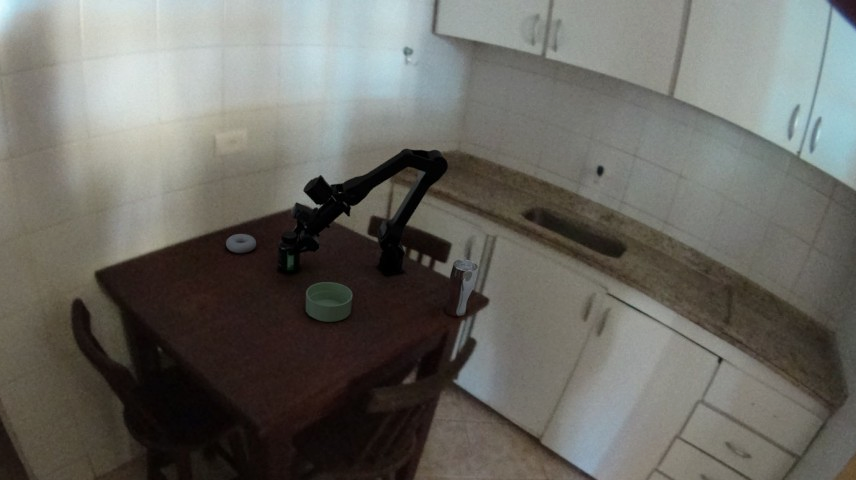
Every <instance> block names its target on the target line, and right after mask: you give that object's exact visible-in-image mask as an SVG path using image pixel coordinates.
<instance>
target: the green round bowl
mask: <svg viewBox="0 0 856 480" xmlns="http://www.w3.org/2000/svg"><path fill="white" fill-rule="evenodd" d="M353 296H354V294H353V292H352V290H351V289H350V288H349V287H348V286H346V285H345V284H341V283H339V282H334V281H333V282H332V281H322V282H317V283H314V284H311V285H310V286H309V287H308V288H307V289H306V291H305V300H304V302H305V303H304V304H305V305H304V309H305V312H306V313H307V315H308V316H309V317H312V318H313V319H315V320H317V321H321V322H324V323H325V322H326V323H327V322H328V323H334V322H339V321H343V320H344V319H346V318H348V317H349V316H350V315H351V313H352V310H353V309H352V307H353V299H354V298H353Z"/></svg>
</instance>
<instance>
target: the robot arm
mask: <svg viewBox="0 0 856 480" xmlns="http://www.w3.org/2000/svg"><path fill="white" fill-rule="evenodd" d="M407 168H412V169H415V170H417V171H418V174H417V176H416V179H415V180H414V182H413V184H412V185H411V188H409V190H408V192H407V194H406V196H405V197H404V198H403V200H402V202H401V204H400V205H399V207H398V208H397V210H396V211H395V213H394V215H393V217H392V218H391V219H389V220H388V221H387V220H386V219H383V221H382V222H381V225H380V226H379V227H378V228H377V230H376V231H377V235H376V237H377V241H378V243H379V247H380V249H381V250H382V251H381V255H380V257H379V262H378V265H376V267H377V269H379V270H380V271H381V272H382V273H383V274H384V275H385V276H387V277H388V276H394V275H399V274H404V273H405V270H404V268H403V261H404V257H405V255H406V252H405V249H404V246H403V244H402V242H401V241H402V239H403V236H404V232H405V228H406V226H407V224H408V222H409V221H410V220H411V217H413V215H414V213H415V211H416V210H417V208H418V207H419V205H420V204H421V202H422V201H423V199H424V197H425V196H426V194H427V192H428V191H429V189H430V188H431V187H432V186H434V185H435V184H436V183H437V182H439V181H440V180H441V178H443V176H444V175H445V174H446V172H447V171H448V169H449V164H448V160H447V159H446V157H445V156H444V154H443V153H442V152H441V151H440V150H438V149H431V150H425V149H411V148H403V149H402V150H400V152H398V153H397V154H395V155H394V156H392V157H390V158H389V159H387V160H386V161H384V162H383V163H381V164H380V165H378V166H376V167H375V168H372V170H370V171H368V172H366V173H365V174H363V175H358V176H354V177H352V178H350V179H346V180H345V181H344V182H342V183H333V184H329V183H328V181H327V180H326V179H325V177H324V176H323V175H321V174H320V175H319V176H316V177H314V178H311V179H310V180H309V181H308V182H307V183H306V184H305V186H304V187H303V190H302V191H303V193H304V194H305V195H306V196H307V197H308V198H309V199H310V200H311V201H312V202H313V203H314V204H315V205H316V207H313V209H311V208H310V207H308V206H306V205H304V204H302V203H300V202H297V201H296V202H295V203H294V205H293V207H292V209H291V211H290V212H291V214H290V215H291V217H292V219H295V220H296V224H295V226H294V228H293V229H292V230H291V231H292V232H296V233H297V238H298V240H297V243H296V244H295V245H294V246H293V247H292V248H291V249H290V251H289V252H288V254H289V255H290V256H291V255H295V254H299V253H300V254H304V253H308V252H311V253H312V252H313V253H316V252H317V251H318V250H319V249H320V239H319V237H320V236H321V232H323V231H324V230H325V229H326V228H327V229H330V228H331V227H332V226H331V224H332V223H333V222H334V221H335V220H337V219H338V218H339V217H340V216H341V215H343V214H345V216H346V217H348V218H349V217H351V210H352V207H355V206H357V205H358V204H360V203H361V202H362V201H363V200H364V199H366V197H367V196H368V195H369V194H370V193H371V191H372V190H373V189H375V188H377V187H378V186H379V185H381V184H383V183H385V182H386V181H388V180H389V179H391V178H392V177H394V176H396V175H397V174H399V173H400V172H402V171H404V170H406V169H407ZM318 205H319V207H318Z"/></svg>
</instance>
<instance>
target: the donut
mask: <svg viewBox="0 0 856 480" xmlns="http://www.w3.org/2000/svg"><path fill="white" fill-rule="evenodd" d="M225 246H226V248H227V249H228V250H229V251H230V252H232V253H236V254H247V253H250V252H252V251H254V250H255V249H256V247H257V241H256V239H255V237H253V236H252V235H250V234H248V233H236V234H233V235H230V236H229V237H228V238H227V239H226V241H225Z"/></svg>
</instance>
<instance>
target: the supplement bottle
mask: <svg viewBox="0 0 856 480" xmlns="http://www.w3.org/2000/svg"><path fill="white" fill-rule="evenodd" d="M292 231H293V230H289V231H288V230H286V231H283V232H282V233H281V238H280V239H281V240H280V241H279V242H278V245H277V269H278V271H279V272H280V273H282V274H285V275H294V274H296V273H298V272H299V271H300V268H301V253H299V254H295V255H291V256H290V255H289V254H288V252H289V251H290V249H291V248H292V247H293V246H294V245H295V244H296V243H297V241H298V238H297V233H296V232H292Z"/></svg>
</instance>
